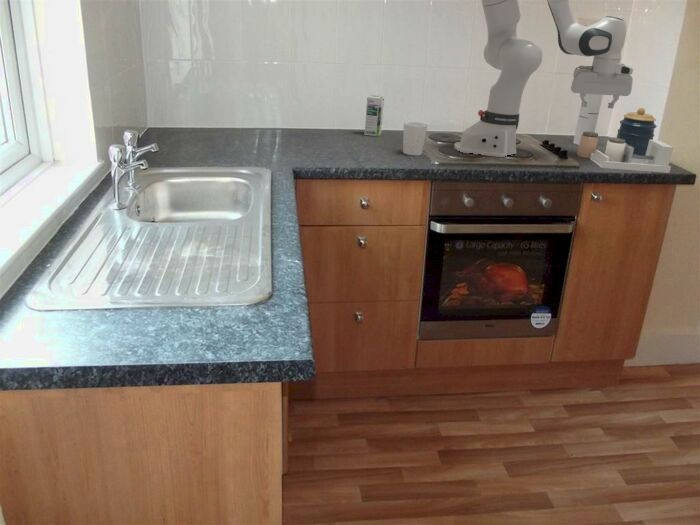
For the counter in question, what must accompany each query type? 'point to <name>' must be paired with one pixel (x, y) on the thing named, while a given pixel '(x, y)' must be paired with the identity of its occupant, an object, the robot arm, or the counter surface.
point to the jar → (587, 144)
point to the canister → (637, 130)
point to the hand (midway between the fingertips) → (597, 107)
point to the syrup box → (374, 115)
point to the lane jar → (615, 149)
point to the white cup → (414, 138)
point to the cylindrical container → (588, 116)
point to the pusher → (633, 155)
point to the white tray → (654, 148)
